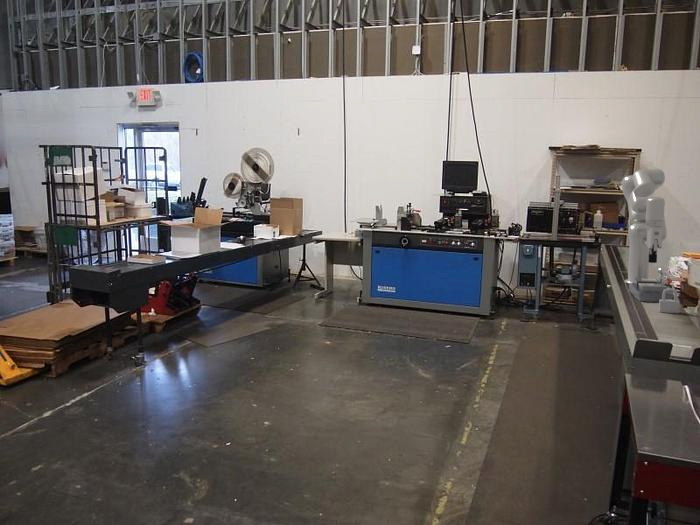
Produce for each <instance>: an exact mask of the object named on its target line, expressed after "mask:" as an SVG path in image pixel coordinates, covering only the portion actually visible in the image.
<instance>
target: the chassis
mask: <svg viewBox="0 0 700 525" xmlns="http://www.w3.org/2000/svg"><path fill="white" fill-rule="evenodd" d="M665 289H668V286H666V284H665V283H664V284H661V282H660V281H659V278H649V279H638V278H634V283H632V282H629V284H628V291H629V292H630V293H631V294H632V295H633V297H635V299H636V298H637V299H638V300H639V301H650V302H649V303H659V300H660V299H662V294H663V291H664V290H665ZM637 299H636V300H637ZM666 299H667V300H673V293H672V291H667V292H666V295H665V300H666ZM638 300H637V301H638ZM639 301H638V302H639Z"/></svg>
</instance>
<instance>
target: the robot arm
mask: <svg viewBox="0 0 700 525" xmlns="http://www.w3.org/2000/svg"><path fill="white" fill-rule="evenodd" d="M665 181H666V175H665V172H664V171H663V170H662V169H658V168H652V169H651V168H649V169H639V170H636V171H635V172H634V173H633V174H631V175H627V176H625V177H623V179H622V181H621V189H622V190H621V191H622V193H623V196H624V198H625V200H626V202H627V208H628V217H629V221H630V222H631V223H632V224H631V225H630V226H629V227H628V230H627V233H628V234H627V235H628V243H629V246H628V247H629V249H628V250H629V251H628V271H627V278H626V279H625V280H624V283H625V284H627V285H629V282H632V283H634V278H638V279H650V278H649V275H650V263H651V264H652V263H653V264H657V262H658V261H657V260H658V249H662V248H663V241H665V240H666V238H667V233H668V232H667V226H666V219H665V206H666V200H665V198H663V197H661V196H652V195H653V194H654V193H655V191H657V190H658V189H659V188H660V187H662V186H663V184H664V183H665Z"/></svg>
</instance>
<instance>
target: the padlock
mask: <svg viewBox="0 0 700 525" xmlns="http://www.w3.org/2000/svg"><path fill="white" fill-rule="evenodd" d="M667 291H669V292H671V293H672V292H673V294H674V295H673V299H672V300H667V299H666V300H665V295H666V292H667ZM680 303H681V302H680V300H679V299H678V291H677V290H676V289H675V288H668V287H667V289H665V290H664V291H663V294H662V299H660V300H659V302H658V305H659V306H658V311H659V313H666V314H667V313H669V314H680V305H681V304H680Z"/></svg>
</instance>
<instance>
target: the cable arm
mask: <svg viewBox="0 0 700 525" xmlns="http://www.w3.org/2000/svg"><path fill="white" fill-rule="evenodd" d="M657 269H658V270H657V273H658V280H659V281H660V282H661V284H664V285H665V277H667V278H668V279H669V280H671V281H675V282H676V281H678V278H677V277H676V276H674V275H673V274H672V273H670V272H669V271H667V268H666V267H665V268H664V267H658V268H657Z"/></svg>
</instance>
